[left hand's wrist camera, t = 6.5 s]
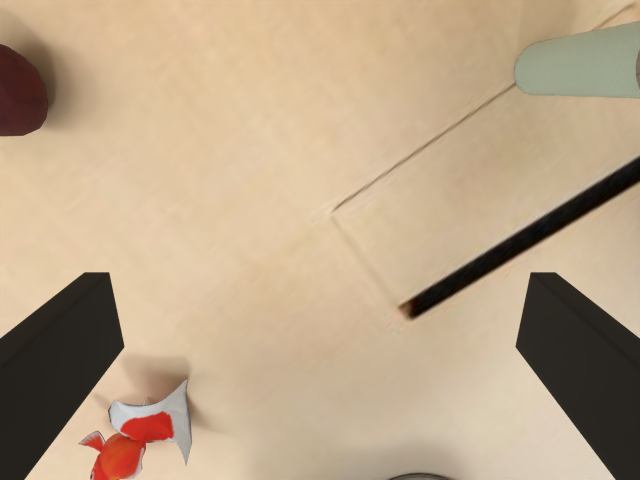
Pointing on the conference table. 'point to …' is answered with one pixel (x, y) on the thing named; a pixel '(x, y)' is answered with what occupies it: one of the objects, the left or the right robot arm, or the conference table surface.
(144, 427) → the fish
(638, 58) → the lid
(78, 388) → the left robot arm
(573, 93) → the green bottle
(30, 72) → the dark maroon ball
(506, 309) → the conference table surface
